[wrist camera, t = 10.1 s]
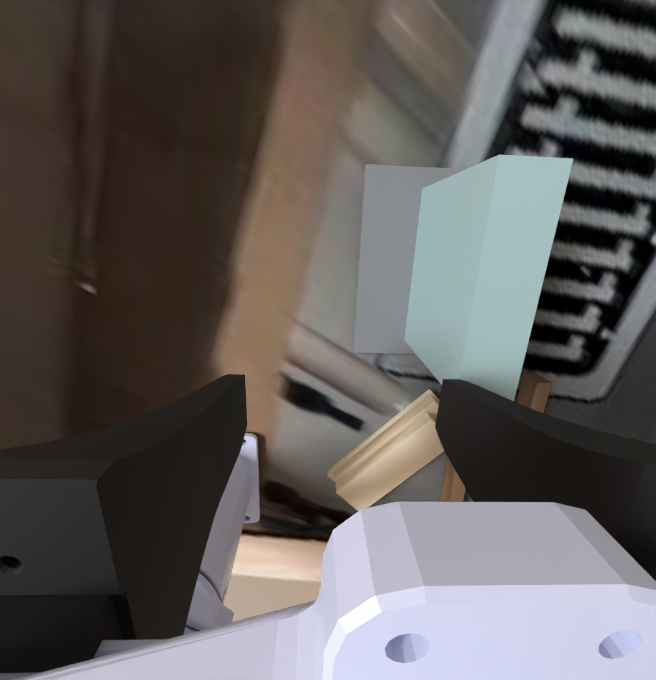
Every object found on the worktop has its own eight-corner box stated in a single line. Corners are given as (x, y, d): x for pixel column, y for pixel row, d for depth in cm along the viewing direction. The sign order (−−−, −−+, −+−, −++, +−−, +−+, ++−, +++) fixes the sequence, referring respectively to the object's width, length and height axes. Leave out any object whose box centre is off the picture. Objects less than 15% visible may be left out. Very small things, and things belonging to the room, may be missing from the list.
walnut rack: (438, 507, 26) (445, 523, 25) (463, 372, 22) (473, 381, 21) (501, 507, 26) (512, 523, 25) (537, 373, 23) (551, 383, 21)
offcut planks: (326, 467, 25) (327, 494, 22) (427, 386, 23) (441, 405, 20) (352, 489, 26) (356, 517, 23) (452, 412, 24) (468, 434, 21)
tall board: (404, 340, 21) (454, 400, 13) (422, 188, 18) (499, 154, 10) (442, 341, 21) (513, 401, 13) (465, 190, 18) (572, 158, 11)
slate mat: (352, 349, 22) (353, 352, 21) (364, 166, 18) (366, 164, 18) (483, 352, 22) (487, 355, 21) (519, 174, 19) (525, 172, 18)
